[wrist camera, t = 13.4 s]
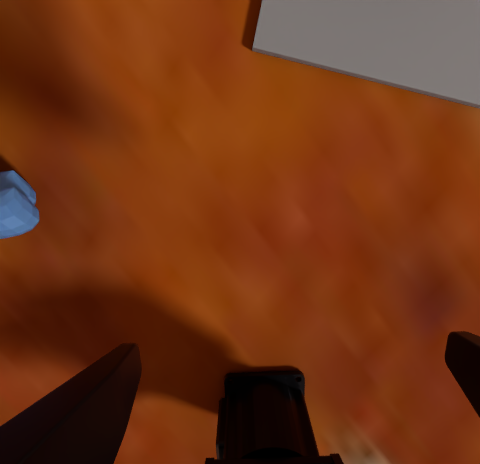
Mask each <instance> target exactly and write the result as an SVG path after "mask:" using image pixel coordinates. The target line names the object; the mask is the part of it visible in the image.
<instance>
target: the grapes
mask: <svg viewBox="0 0 480 464" xmlns="http://www.w3.org/2000/svg"><path fill="white" fill-rule="evenodd" d="M35 203H36V194H35V191H34V190H33V189H32V187H31V186H30V185H29V184H28V183H27V182H26V181H25V180H24V179H23V178H22V177H20V176H19V175H18V174H17V173H16V172H15V171H13V170H11V171H4V172H0V239H2V238H8V237H13V236H18V235H21V234H23V233H26V232H28V231H31V230H32V229H33V228H34V227H35V226H36V225H37V224H38V222H39V211H38V209H37V208H36V207H35V205H34V204H35Z"/></svg>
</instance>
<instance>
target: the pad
mask: <svg viewBox="0 0 480 464" xmlns="http://www.w3.org/2000/svg"><path fill="white" fill-rule="evenodd" d="M252 51H255V52H259V53H263V54H267V55H271V56H275V57H279V58H283V59H287V60H291V61H295V62H298V63H302V64H306V65H310V66H314V67H318V68H322V69H326V70H330V71H334V72H338V73H342V74H346V75H350V76H354V77H358V78H362V79H366V80H370V81H374V82H378V83H382V84H386V85H389V86H393V87H397V88H401V89H405V90H409V91H413V92H417V93H421V94H425V95H429V96H433V97H437V98H441V99H445V100H449V101H453V102H457V103H461V104H465V105H469V106H473V107H477V108H480V0H262V4H261V9H260V14H259V19H258V24H257V28H256V33H255V38H254V43H253V48H252Z"/></svg>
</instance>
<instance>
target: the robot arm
mask: <svg viewBox="0 0 480 464" xmlns="http://www.w3.org/2000/svg"><path fill="white" fill-rule="evenodd" d="M445 362H446V364H447V366H448V368H449V370H450V371H451V373H452V374H453V376H454V378H455V379H456V381H457V382H458V384H459V386H460V387H461V389H462V390H463V392H464V394H465V395H466V397H467V398H468V400H469V402H470V403H471V405H472V406H473V408H474V410H475V411H476V413H477V414H478V416H479V417H480V337H479V336H477V335H474V334H472V333H469V332H465V331H460V332H451V333H450V334H449V335H448V339H447V345H446V351H445ZM141 371H142V367H141V360H140V354H139V348H138V345H137V344H136V343H123V344H121V345H120V346H118V347H117V348H115V349H114V350H112V351H111V352H109V353H108V354H106V355H105V356H103V357H102V358H100V359H99V360H97V361H96V362H94V363H93V364H92V365H90V366H89V367H87V368H86V369H84V370H83V371H81V372H80V373H78V374H77V375H75V376H74V377H72V378H71V379H69V380H68V381H66V382H65V383H64V384H62V385H61V386H59V387H58V388H56V389H55V390H53V391H52V392H50V393H49V394H47V395H46V396H44V397H43V398H41V399H40V400H38V401H37V402H36V403H34V404H33V405H31V406H30V407H28V408H27V409H25V410H24V411H22V412H21V413H19V414H18V415H16V416H15V417H13V418H12V419H10V420H9V421H8V422H6V423H5V424H3V425H2V426H0V464H113V463H114V461H115V458H116V456H117V453H118V450H119V448H120V445H121V442H122V440H123V437H124V434H125V431H126V428H127V425H128V421H129V418H130V414H131V410H132V407H133V403H134V399H135V396H136V392H137V388H138V384H139V381H140V377H141ZM296 377H300V378H296ZM229 379H232V381H229ZM224 385H225V398H221V399H220V401H219V412H218V425H217V437H216V453H217V459H214V458H206V461H205V464H343V462H342V459H341V457H340V455H339V454H330V456H319V452H318V449H317V445H316V441H315V437H314V433H313V430H312V426H311V422H310V418H309V414H308V411H307V407H306V403H305V399H304V388H305V378H304V375H303V373H302V372H301V371H275V372H248V373H229V374H227V375H226V376H225V379H224Z"/></svg>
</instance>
